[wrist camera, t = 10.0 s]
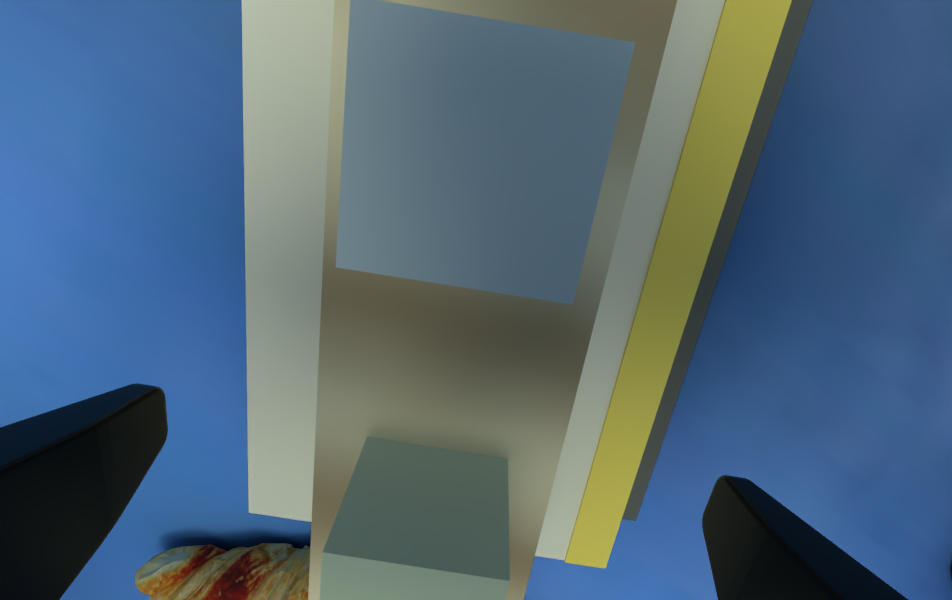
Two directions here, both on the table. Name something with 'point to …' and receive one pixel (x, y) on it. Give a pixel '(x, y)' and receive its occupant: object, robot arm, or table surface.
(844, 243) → the table surface
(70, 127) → the table surface
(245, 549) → the croissant
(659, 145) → the dock
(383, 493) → the grey-green cube
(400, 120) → the blue-grey cube
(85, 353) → the table surface
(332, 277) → the wooden block
